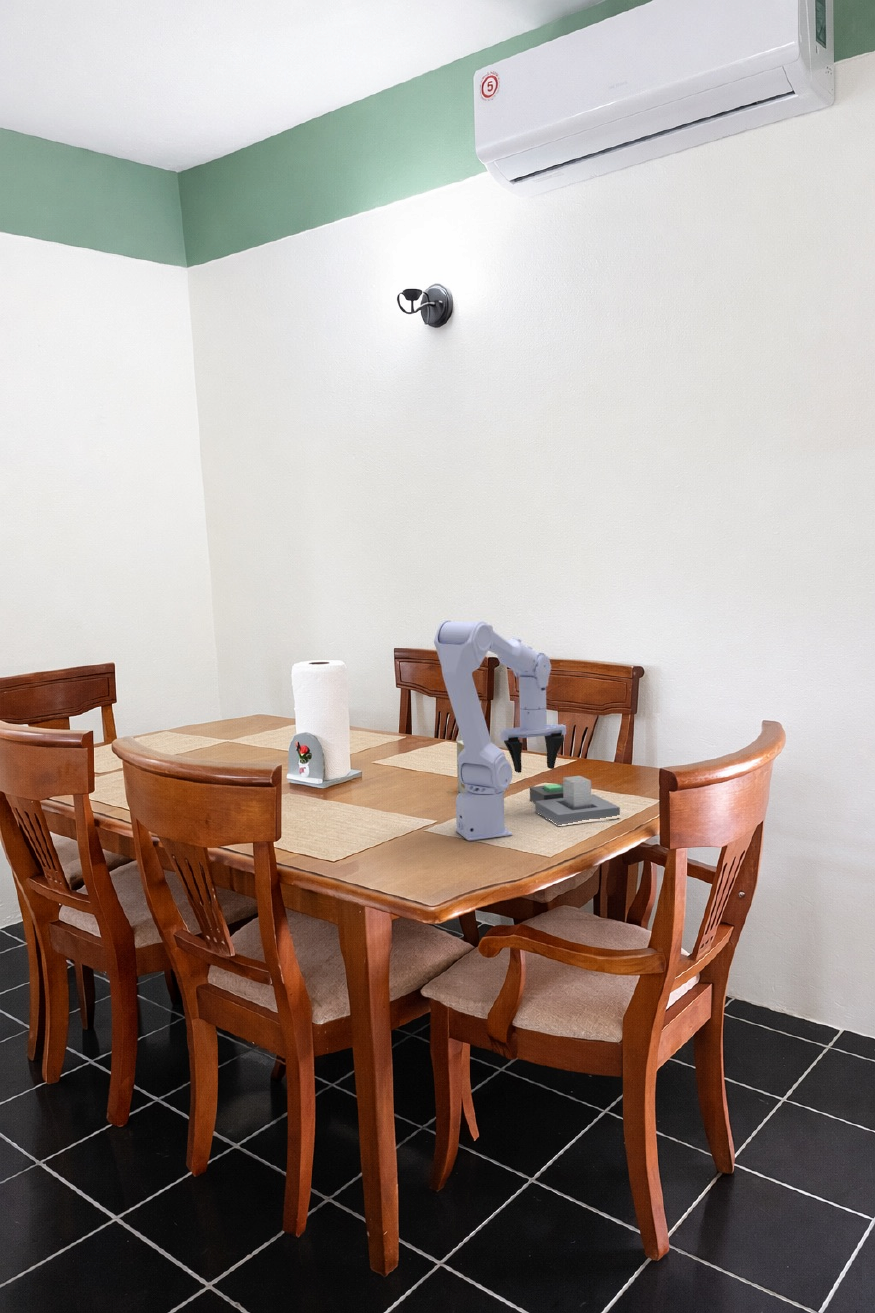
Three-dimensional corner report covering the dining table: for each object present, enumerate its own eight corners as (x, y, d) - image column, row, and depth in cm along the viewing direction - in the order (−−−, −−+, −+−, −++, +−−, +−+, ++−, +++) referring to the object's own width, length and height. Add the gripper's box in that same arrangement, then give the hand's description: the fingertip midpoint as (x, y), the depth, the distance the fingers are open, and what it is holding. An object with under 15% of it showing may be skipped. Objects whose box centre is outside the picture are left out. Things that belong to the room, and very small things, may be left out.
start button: (549, 797, 222) (549, 788, 221) (543, 794, 225) (543, 785, 224) (562, 795, 222) (562, 787, 222) (556, 792, 226) (556, 784, 225)
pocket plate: (558, 826, 205) (558, 815, 204) (535, 812, 216) (535, 801, 216) (619, 818, 209) (619, 807, 208) (593, 805, 220) (593, 794, 220)
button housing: (544, 808, 219) (544, 795, 218) (530, 800, 226) (529, 787, 226) (577, 804, 221) (577, 791, 221) (562, 796, 229) (561, 783, 228)
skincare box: (457, 791, 237) (455, 740, 235) (473, 788, 238) (472, 738, 237) (467, 797, 231) (465, 745, 229) (484, 794, 232) (483, 743, 231)
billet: (574, 815, 209) (573, 782, 208) (563, 809, 214) (563, 777, 213) (591, 813, 210) (590, 780, 210) (580, 807, 215) (579, 775, 214)
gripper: (556, 702, 219) (557, 762, 221) (494, 707, 215) (496, 769, 216) (570, 707, 213) (571, 769, 214) (506, 712, 208) (508, 776, 210)
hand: (534, 770), depth 215 cm, fingers open, 7 cm apart
